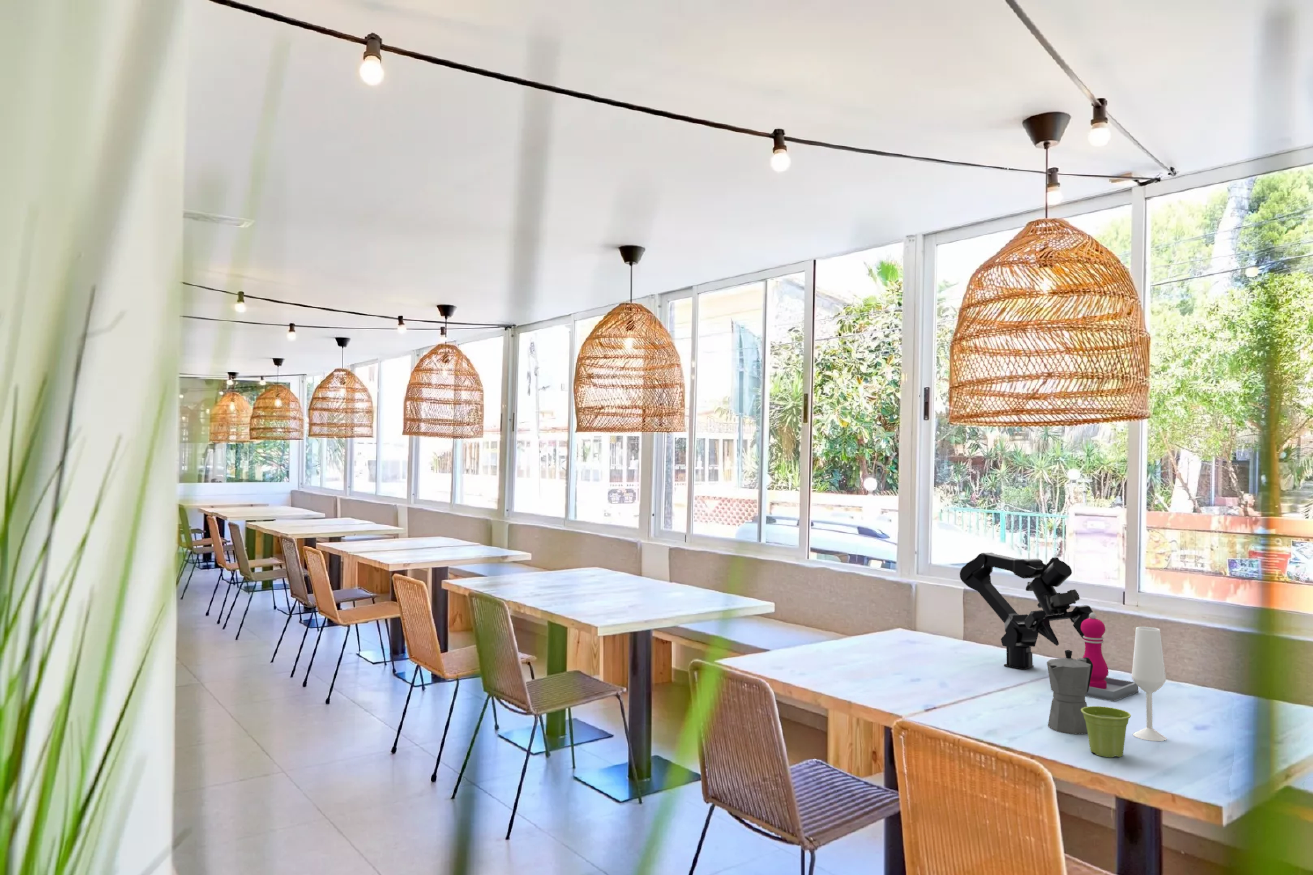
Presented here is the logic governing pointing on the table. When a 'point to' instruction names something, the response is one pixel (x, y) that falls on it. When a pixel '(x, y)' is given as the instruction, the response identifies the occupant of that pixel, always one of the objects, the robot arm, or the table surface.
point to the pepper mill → (1095, 650)
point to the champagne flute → (1148, 673)
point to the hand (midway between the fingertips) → (1072, 643)
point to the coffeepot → (1069, 693)
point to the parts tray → (1113, 690)
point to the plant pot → (1106, 730)
